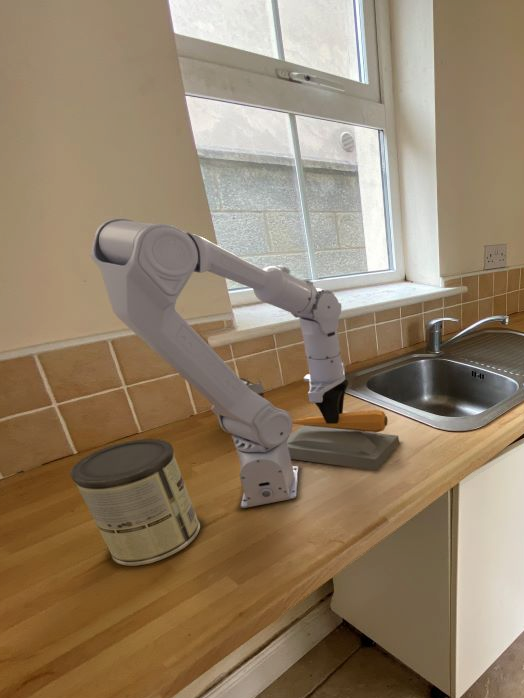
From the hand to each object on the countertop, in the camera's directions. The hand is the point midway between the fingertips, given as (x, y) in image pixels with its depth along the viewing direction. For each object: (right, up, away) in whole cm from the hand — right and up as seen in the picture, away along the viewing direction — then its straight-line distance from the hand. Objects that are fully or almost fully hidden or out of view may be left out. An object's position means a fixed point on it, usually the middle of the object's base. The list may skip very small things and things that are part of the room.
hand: (334, 419), depth 87 cm
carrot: (0, -1, +1) cm, 2 cm away
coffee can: (-16, -17, -22) cm, 32 cm away
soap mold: (+1, -6, +1) cm, 6 cm away
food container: (-24, -1, +9) cm, 26 cm away
